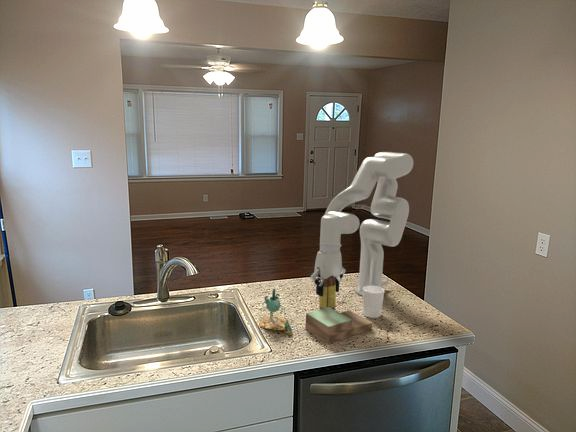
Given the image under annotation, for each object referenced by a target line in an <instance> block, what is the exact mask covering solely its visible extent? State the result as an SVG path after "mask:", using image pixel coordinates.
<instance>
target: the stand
mask: <svg viewBox="0 0 576 432" xmlns="http://www.w3.org/2000/svg"><path fill="white" fill-rule="evenodd" d="M373 323H374V322H373V321H371V320H368V319H366V318H365V317H364V316H361V315H360V314H357V313H355V312H353V311H351V310H345V311H342V312H338V311H337V310H336V309H335V310H333V309H331V308H330V307H327V308H323V309H320V308H319V309H316V310H313V311H308V312H306V313H305V326H304V327H305V331H307V332H309V333H310V334H312V335H314V336H315V337H316V338H318V339H320V340H321V341H323V342H324V343H326V344H327V345H328V344H332V343H335V342H338V341H341V340H344V339H347V338H350V337H353V336H356V335H359V334H363V333H365V332H368V331H371V330H373Z"/></svg>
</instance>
